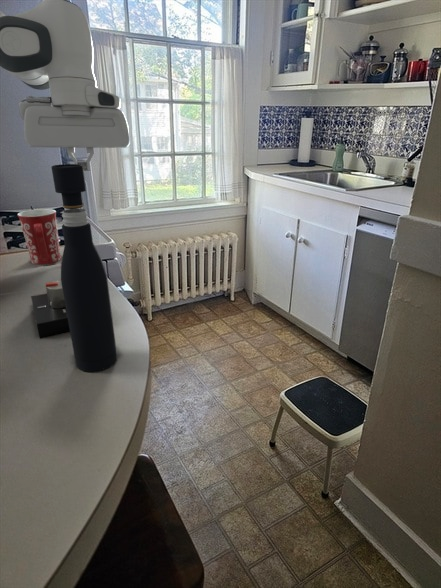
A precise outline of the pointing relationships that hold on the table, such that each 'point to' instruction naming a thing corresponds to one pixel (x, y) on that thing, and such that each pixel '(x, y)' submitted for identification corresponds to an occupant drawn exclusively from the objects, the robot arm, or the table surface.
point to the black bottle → (83, 278)
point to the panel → (49, 317)
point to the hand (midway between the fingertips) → (82, 170)
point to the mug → (41, 235)
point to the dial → (55, 294)
